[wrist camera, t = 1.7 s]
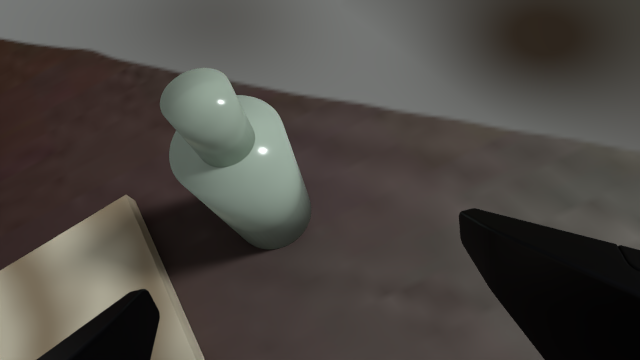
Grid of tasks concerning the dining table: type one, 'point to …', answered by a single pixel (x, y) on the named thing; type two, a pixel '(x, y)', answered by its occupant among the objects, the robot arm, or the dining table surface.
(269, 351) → the dining table surface
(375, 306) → the dining table surface
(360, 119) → the dining table surface
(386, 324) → the dining table surface
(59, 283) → the birch board
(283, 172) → the oil bottle
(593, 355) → the robot arm
